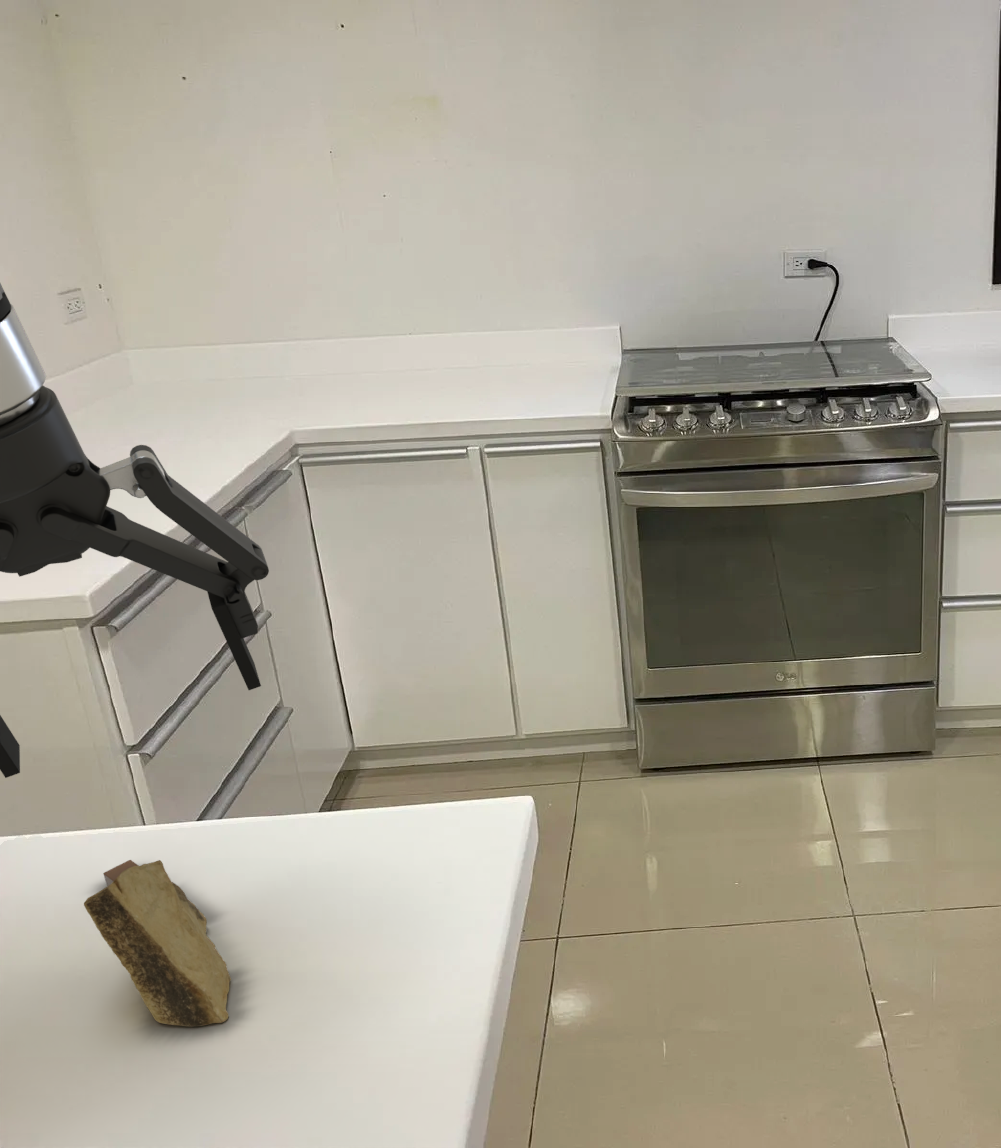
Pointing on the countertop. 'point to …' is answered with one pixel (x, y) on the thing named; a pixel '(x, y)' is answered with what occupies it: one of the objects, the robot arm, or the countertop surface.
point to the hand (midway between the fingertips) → (136, 717)
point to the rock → (163, 946)
